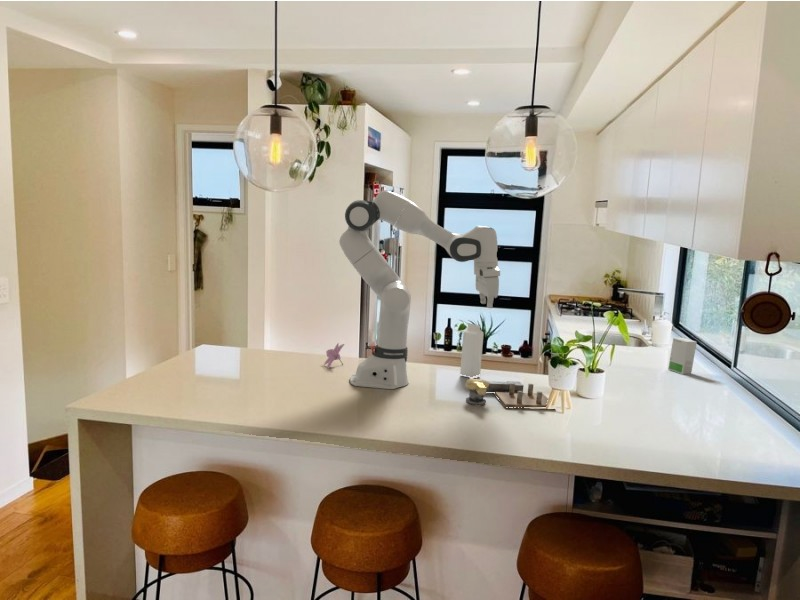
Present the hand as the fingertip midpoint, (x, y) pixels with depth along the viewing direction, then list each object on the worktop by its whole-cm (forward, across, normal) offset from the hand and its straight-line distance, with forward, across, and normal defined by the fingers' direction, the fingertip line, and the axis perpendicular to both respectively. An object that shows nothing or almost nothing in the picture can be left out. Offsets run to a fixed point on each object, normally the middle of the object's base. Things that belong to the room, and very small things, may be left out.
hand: (486, 305), depth 215 cm
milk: (+32, -14, -4) cm, 36 cm away
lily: (+27, -25, -59) cm, 70 cm away
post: (+31, +18, -9) cm, 37 cm away
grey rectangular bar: (+32, +7, +2) cm, 33 cm away
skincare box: (+44, -35, +101) cm, 115 cm away
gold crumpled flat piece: (+26, +20, -9) cm, 34 cm away
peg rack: (+33, +18, +9) cm, 38 cm away
